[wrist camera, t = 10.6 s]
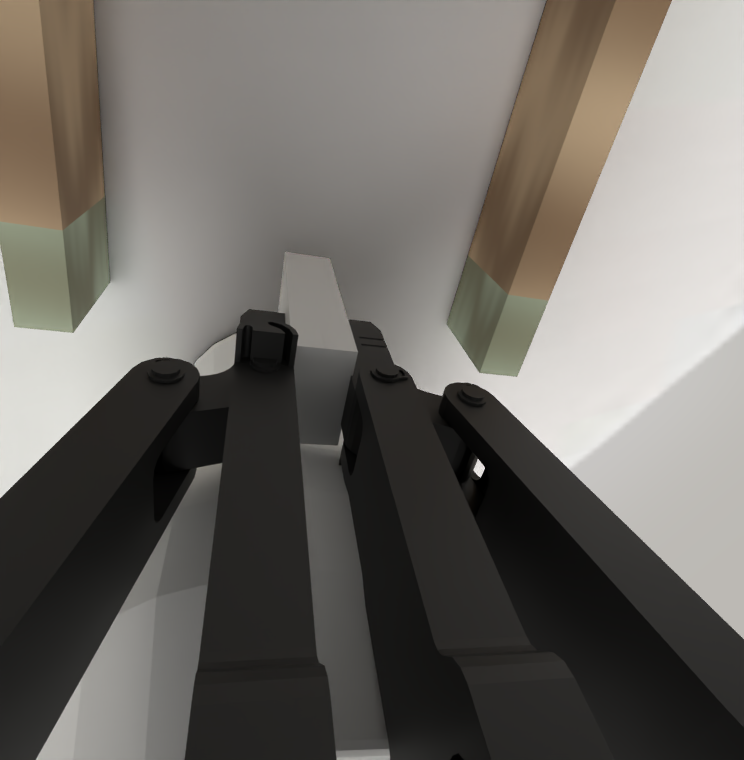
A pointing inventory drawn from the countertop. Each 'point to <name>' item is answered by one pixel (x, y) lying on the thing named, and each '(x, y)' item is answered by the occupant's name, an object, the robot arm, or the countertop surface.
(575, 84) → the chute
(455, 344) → the countertop surface
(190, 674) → the cup
